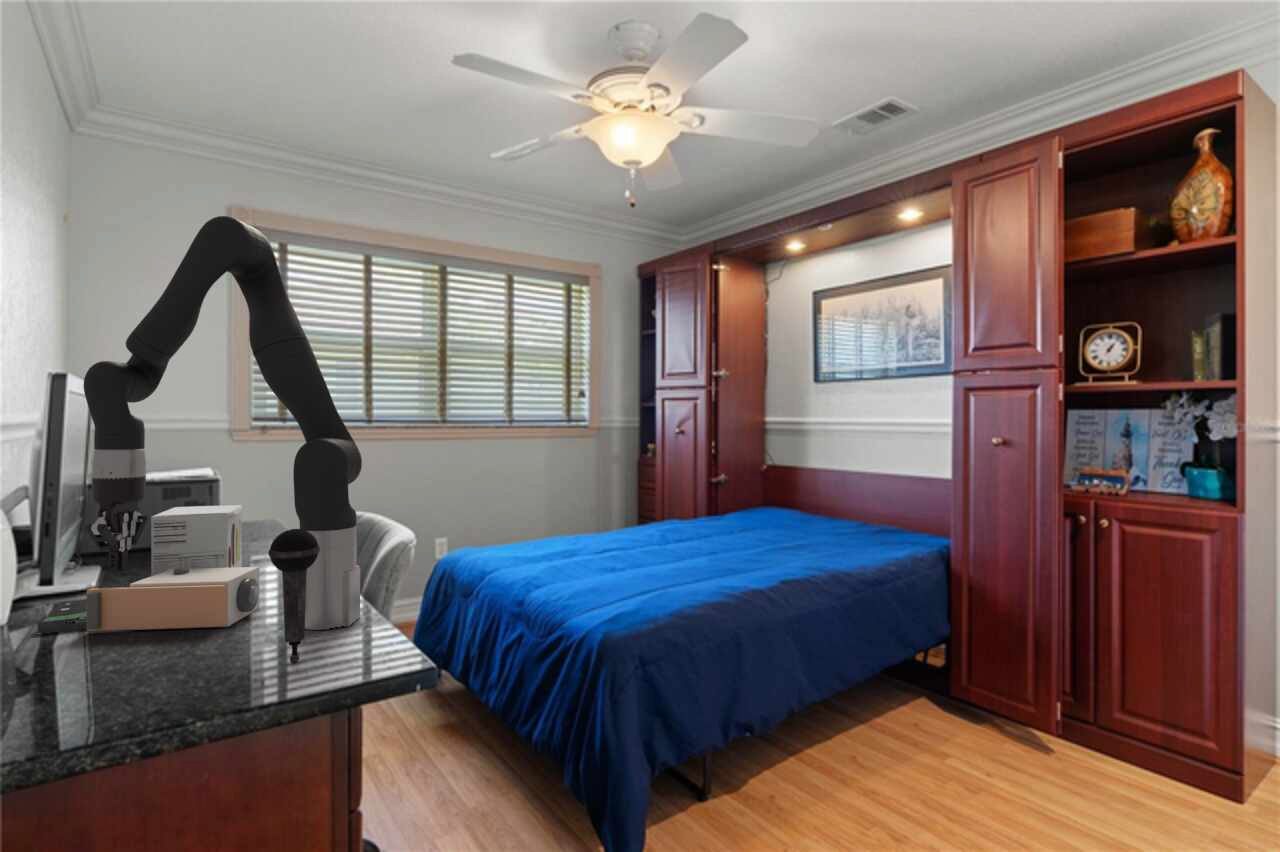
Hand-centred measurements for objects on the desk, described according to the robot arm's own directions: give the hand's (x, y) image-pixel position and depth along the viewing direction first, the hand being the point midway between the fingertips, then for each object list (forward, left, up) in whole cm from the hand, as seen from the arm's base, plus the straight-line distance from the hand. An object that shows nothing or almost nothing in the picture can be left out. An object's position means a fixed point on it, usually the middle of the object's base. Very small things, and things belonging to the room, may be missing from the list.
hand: (118, 571), depth 116 cm
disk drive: (+8, -5, -10) cm, 14 cm away
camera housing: (-12, -3, -10) cm, 15 cm away
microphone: (-39, +23, -10) cm, 46 cm away
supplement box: (-3, -21, -10) cm, 23 cm away
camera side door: (-9, +4, -9) cm, 13 cm away
